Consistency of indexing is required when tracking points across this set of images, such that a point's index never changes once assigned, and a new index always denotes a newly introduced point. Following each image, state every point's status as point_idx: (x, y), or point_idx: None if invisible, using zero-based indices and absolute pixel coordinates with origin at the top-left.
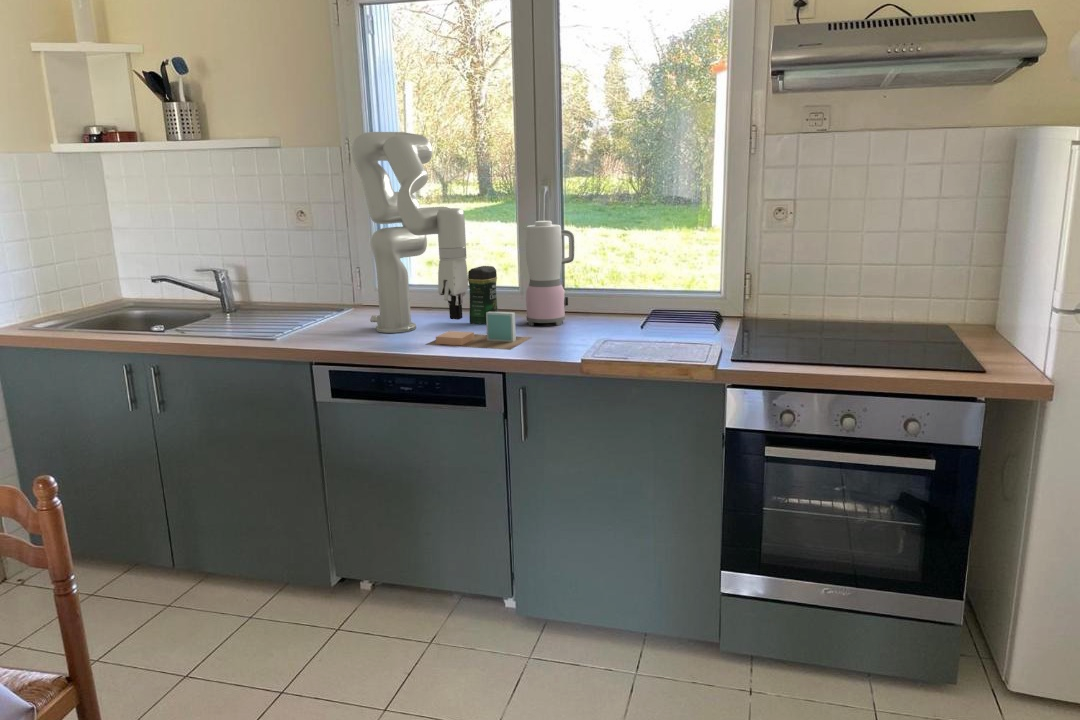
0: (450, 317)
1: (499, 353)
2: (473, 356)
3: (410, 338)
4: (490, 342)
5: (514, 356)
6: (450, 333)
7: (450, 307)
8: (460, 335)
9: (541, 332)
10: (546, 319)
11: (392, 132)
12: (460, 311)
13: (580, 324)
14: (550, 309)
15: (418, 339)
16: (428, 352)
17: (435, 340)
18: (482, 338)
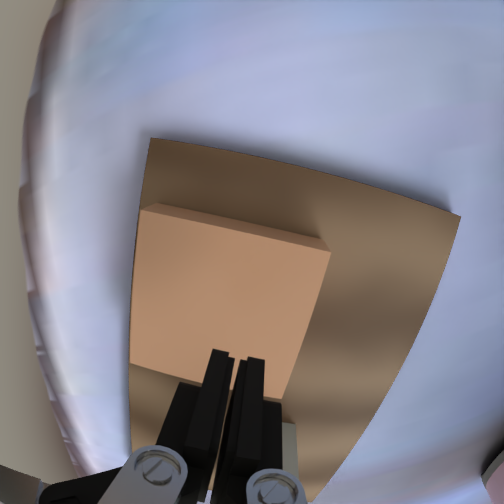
0: (210, 357)
1: (125, 441)
2: (66, 377)
3: (392, 2)
4: None
5: (108, 463)
6: (246, 282)
7: (190, 432)
8: (193, 350)
9: (421, 481)
10: (488, 478)
11: None
12: (217, 461)
13: (469, 498)
14: (494, 502)
15: (375, 41)
16: (73, 192)
17: (258, 166)
18: (308, 398)
